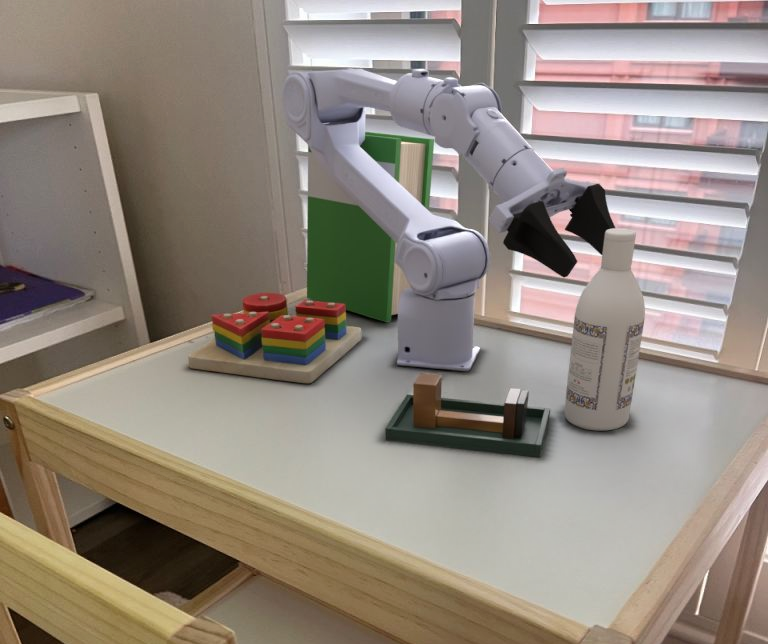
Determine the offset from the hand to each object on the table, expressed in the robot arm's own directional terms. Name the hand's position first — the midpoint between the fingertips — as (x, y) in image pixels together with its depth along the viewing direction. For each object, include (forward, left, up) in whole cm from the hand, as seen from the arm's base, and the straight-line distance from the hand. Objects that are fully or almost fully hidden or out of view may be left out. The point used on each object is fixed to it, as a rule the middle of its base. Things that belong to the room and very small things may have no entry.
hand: (594, 261), depth 82 cm
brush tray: (-11, -8, -16) cm, 21 cm away
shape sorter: (-40, +9, -17) cm, 44 cm away
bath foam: (+2, -2, -17) cm, 17 cm away
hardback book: (-35, +30, -16) cm, 48 cm away
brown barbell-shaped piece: (-11, -8, -16) cm, 21 cm away
